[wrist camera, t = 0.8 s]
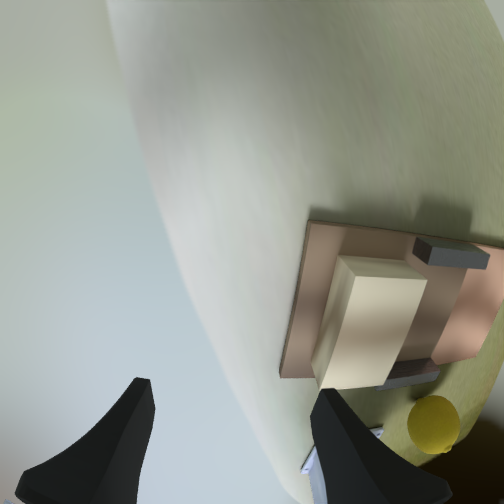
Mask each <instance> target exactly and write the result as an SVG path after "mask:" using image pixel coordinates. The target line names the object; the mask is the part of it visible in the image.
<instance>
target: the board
mask: <svg viewBox="0 0 504 504" xmlns="http://www.w3.org/2000/svg"><path fill="white" fill-rule="evenodd" d="M416 236H417V237H424V238H431V239H437V240H444V241H450V242H457V243H463V244H469V245H475V246H477V247H478V248H480V249H482V250H484V251H485V252H487V253H489V254H490V258H489V262H488V265H487V268H486V270H482V269H469V268H457V267H445V266H432V265H427V264H425V263H424V262H423V261H421V260H420V259H419V258H417V257H416V256H415V255H413V254H412V251H413V247H414V243H415V239H416ZM338 255H346V256H358V257H369V258H381V259H393V260H404V261H405V262H407V263H408V264H409V265H410V266H411V267H413V268H414V269H415V270H416V271H418V272H419V273H420V274H421V275H422V276H424V277H425V278H426V279H427V283H426V286H425V289H424V292H423V295H422V297H421V300H420V303H419V306H418V308H417V311H416V314H415V316H414V319H413V321H412V324H411V326H410V329H409V331H408V333H407V336H406V338H405V340H404V343H403V345H402V347H401V349H400V352H399V354H398V356H397V358H396V360H395V362H398V361H407V360H415V359H422V358H429V357H431V359H432V360H433V361H434V363H435V364H436V365H440V364H446V363H451V362H456V361H460V360H465V359H470V358H474V357H476V355H477V354H478V352H479V350H480V348H481V346H482V344H483V342H484V340H485V338H486V336H487V334H488V332H489V330H490V328H491V326H492V324H493V322H494V319H495V317H496V315H497V313H498V310H499V308H500V306H501V303H502V301H503V298H504V248H500V247H494V246H489V245H483V244H478V243H472V242H466V241H460V240H454V239H448V238H442V237H435V236H429V235H422V234H415V233H408V232H401V231H394V230H387V229H379V228H372V227H364V226H356V225H348V224H340V223H331V222H322V221H313V220H308V224H307V230H306V236H305V242H304V248H303V254H302V260H301V265H300V271H299V276H298V282H297V287H296V292H295V298H294V303H293V308H292V313H291V318H290V323H289V328H288V332H287V337H286V342H285V346H284V351H283V356H282V360H281V364H280V369H279V374H280V378H315V375H314V371H313V368H312V365H311V358H312V355H313V352H314V348H315V345H316V341H317V338H318V334H319V330H320V327H321V323H322V319H323V315H324V312H325V308H326V304H327V300H328V296H329V292H330V287H331V283H332V279H333V275H334V270H335V266H336V261H337V256H338Z"/></svg>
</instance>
